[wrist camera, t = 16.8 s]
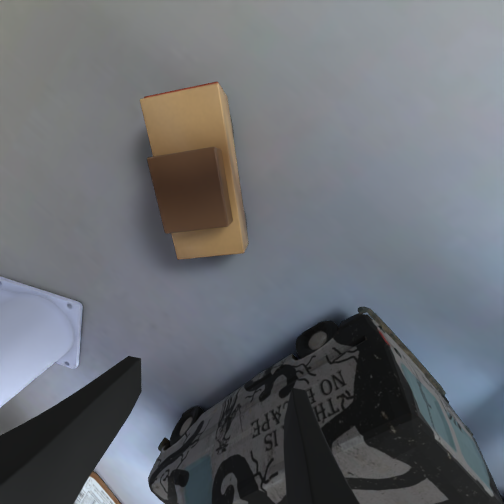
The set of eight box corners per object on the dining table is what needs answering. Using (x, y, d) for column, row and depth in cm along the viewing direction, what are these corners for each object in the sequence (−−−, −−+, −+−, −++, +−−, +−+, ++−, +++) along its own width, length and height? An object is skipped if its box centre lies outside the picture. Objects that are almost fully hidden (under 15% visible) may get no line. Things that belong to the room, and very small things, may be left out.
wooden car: (250, 241, 19) (240, 261, 15) (192, 247, 20) (166, 268, 15) (229, 96, 16) (209, 65, 12) (163, 109, 17) (120, 84, 13)
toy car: (165, 422, 26) (102, 560, 17) (357, 289, 19) (430, 396, 10) (233, 479, 28) (209, 635, 19) (434, 374, 21) (560, 538, 12)
